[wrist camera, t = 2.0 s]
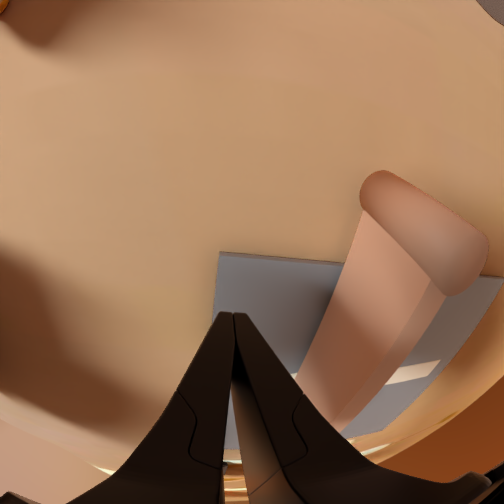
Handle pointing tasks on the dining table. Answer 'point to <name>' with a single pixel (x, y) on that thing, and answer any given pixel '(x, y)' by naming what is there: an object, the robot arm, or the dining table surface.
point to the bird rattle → (3, 5)
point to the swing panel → (387, 293)
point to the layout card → (311, 314)
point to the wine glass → (494, 9)
